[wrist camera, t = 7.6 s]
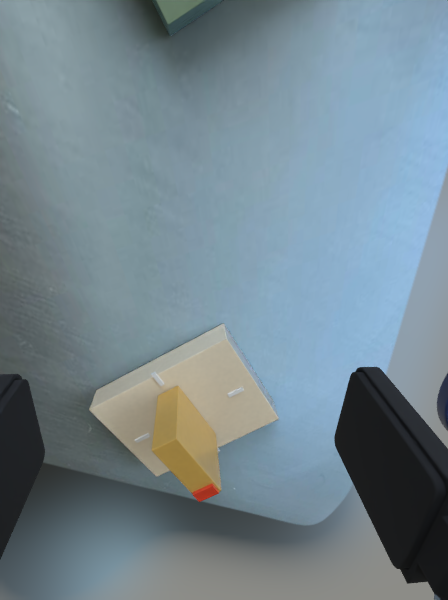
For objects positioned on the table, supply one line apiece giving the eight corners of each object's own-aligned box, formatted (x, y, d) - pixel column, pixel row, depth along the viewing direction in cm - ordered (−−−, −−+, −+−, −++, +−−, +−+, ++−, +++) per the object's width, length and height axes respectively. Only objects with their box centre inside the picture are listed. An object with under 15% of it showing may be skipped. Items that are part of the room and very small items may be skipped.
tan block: (157, 395, 28) (150, 453, 23) (178, 384, 28) (176, 441, 22) (196, 442, 31) (198, 504, 25) (216, 433, 30) (222, 494, 25)
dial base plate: (221, 319, 28) (224, 336, 26) (274, 402, 33) (281, 422, 30) (93, 387, 30) (85, 408, 28) (160, 457, 35) (158, 480, 32)
